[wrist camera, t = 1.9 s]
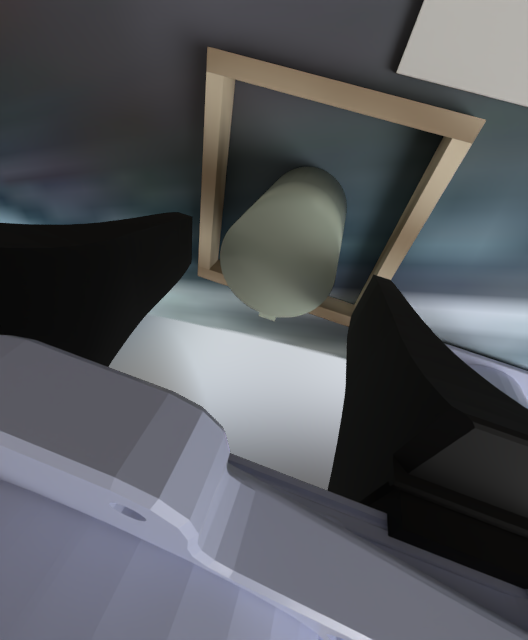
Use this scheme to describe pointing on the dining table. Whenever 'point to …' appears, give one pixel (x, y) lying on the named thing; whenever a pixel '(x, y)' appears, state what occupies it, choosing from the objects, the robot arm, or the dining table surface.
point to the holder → (339, 94)
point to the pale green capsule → (287, 245)
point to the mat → (471, 47)
